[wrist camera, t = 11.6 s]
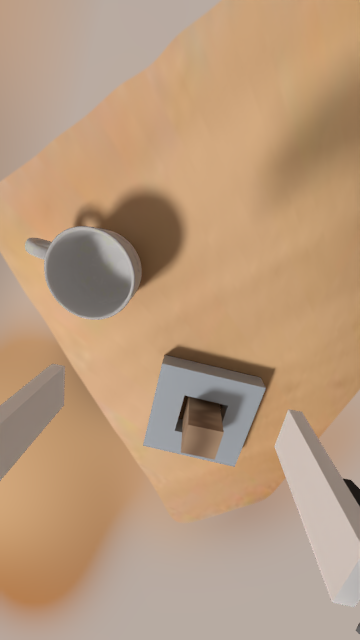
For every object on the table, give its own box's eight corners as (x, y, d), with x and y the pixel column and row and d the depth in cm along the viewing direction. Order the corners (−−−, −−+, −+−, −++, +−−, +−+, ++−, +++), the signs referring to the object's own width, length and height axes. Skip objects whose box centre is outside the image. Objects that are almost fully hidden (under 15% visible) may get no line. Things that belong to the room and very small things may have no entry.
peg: (218, 396, 40) (223, 432, 33) (211, 420, 42) (214, 459, 34) (189, 390, 40) (188, 424, 33) (183, 414, 42) (180, 452, 34)
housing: (260, 377, 39) (265, 388, 36) (231, 452, 44) (234, 466, 41) (164, 354, 39) (162, 363, 36) (146, 432, 44) (143, 445, 41)
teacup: (161, 261, 34) (152, 265, 27) (122, 318, 37) (103, 337, 30) (77, 198, 32) (41, 184, 25) (43, 264, 35) (2, 270, 28)
